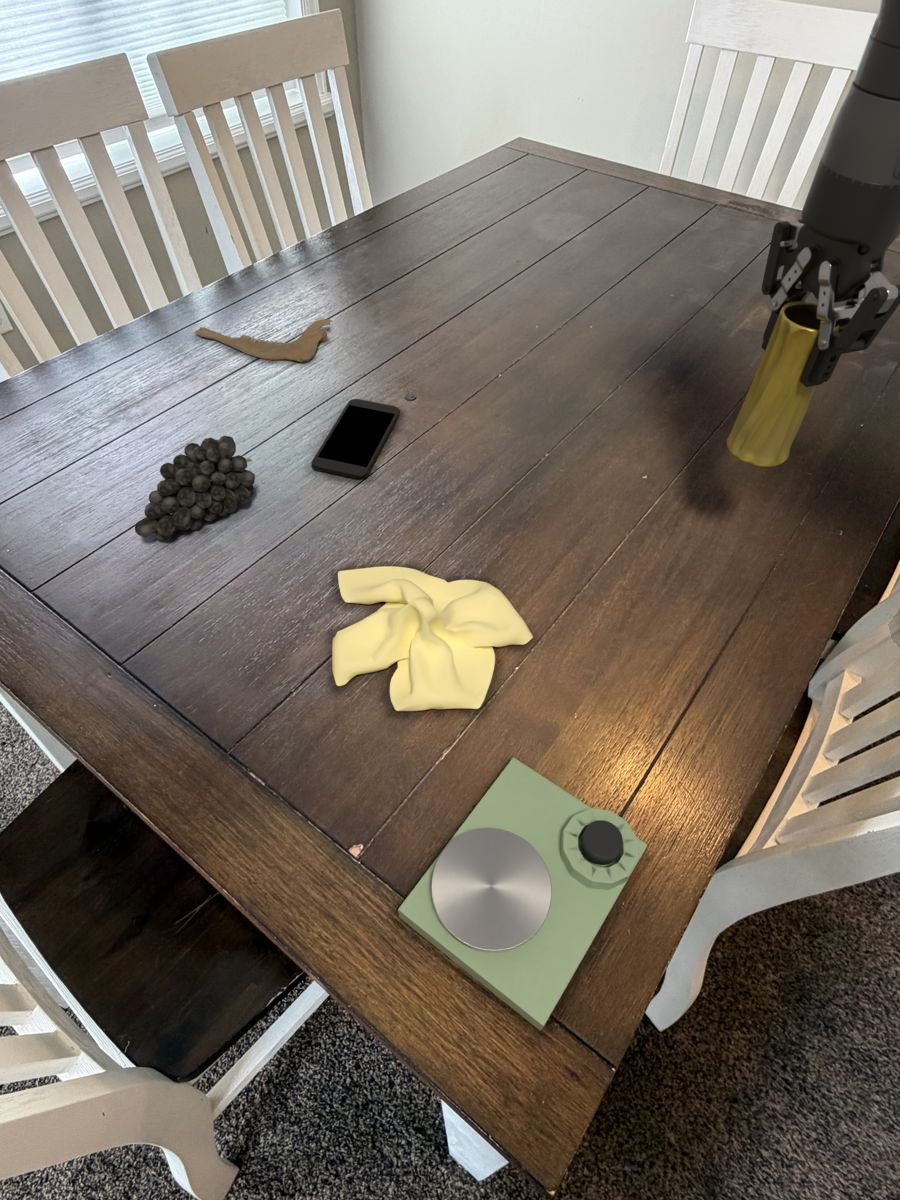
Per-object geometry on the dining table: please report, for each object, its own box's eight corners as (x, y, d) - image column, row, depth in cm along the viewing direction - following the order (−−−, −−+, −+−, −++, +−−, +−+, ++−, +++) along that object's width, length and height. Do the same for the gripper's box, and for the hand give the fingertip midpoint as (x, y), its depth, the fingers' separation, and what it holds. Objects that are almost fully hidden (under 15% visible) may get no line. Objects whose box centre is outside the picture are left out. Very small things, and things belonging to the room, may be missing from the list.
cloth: (549, 607, 77) (557, 568, 72) (476, 748, 66) (479, 713, 61) (366, 538, 83) (362, 498, 78) (271, 657, 72) (260, 619, 67)
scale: (511, 766, 65) (515, 747, 62) (642, 853, 60) (652, 836, 58) (398, 916, 57) (396, 902, 54) (540, 1031, 52) (546, 1021, 49)
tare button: (592, 820, 59) (596, 812, 58) (625, 842, 58) (629, 834, 57) (573, 850, 57) (576, 842, 56) (607, 873, 56) (611, 865, 55)
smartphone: (403, 411, 98) (402, 405, 98) (365, 481, 89) (365, 476, 88) (351, 401, 99) (350, 396, 99) (308, 470, 90) (308, 465, 89)
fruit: (127, 498, 73) (248, 429, 80) (95, 482, 78) (211, 418, 85) (167, 567, 78) (277, 496, 85) (134, 547, 84) (241, 482, 91)
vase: (723, 427, 76) (771, 295, 65) (783, 434, 75) (842, 301, 65) (728, 464, 72) (781, 330, 61) (792, 471, 72) (856, 337, 61)
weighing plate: (476, 809, 59) (476, 805, 58) (573, 876, 56) (574, 873, 55) (406, 901, 54) (406, 898, 54) (507, 981, 51) (508, 979, 50)
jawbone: (333, 366, 106) (331, 354, 104) (189, 373, 104) (185, 360, 103) (333, 328, 111) (331, 316, 109) (196, 334, 109) (192, 322, 108)
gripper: (991, 192, 50) (877, 403, 63) (855, 124, 59) (780, 321, 72) (901, 204, 49) (803, 418, 61) (775, 133, 57) (713, 333, 70)
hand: (791, 365), depth 67 cm, fingers closed on vase, 5 cm apart
